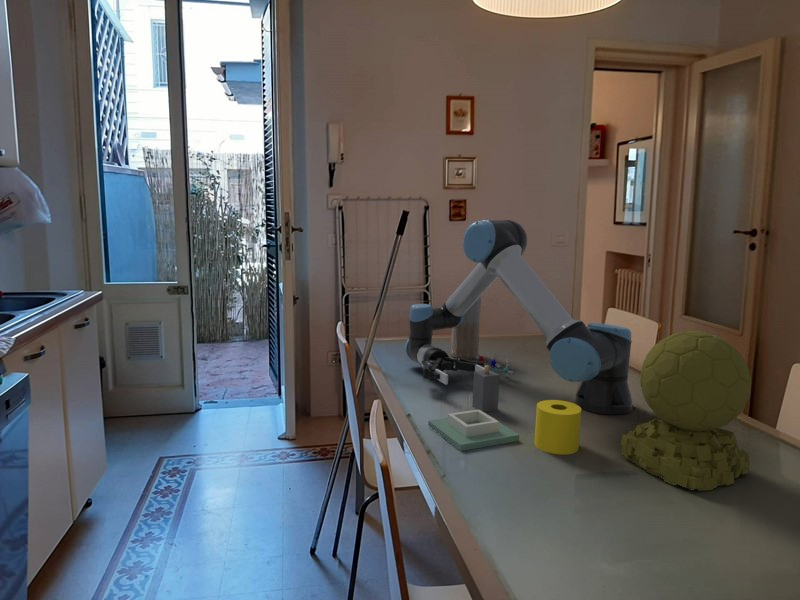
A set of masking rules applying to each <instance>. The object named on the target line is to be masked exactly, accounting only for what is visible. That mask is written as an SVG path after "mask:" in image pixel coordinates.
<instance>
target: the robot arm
mask: <svg viewBox="0 0 800 600" xmlns="http://www.w3.org/2000/svg"><path fill="white" fill-rule="evenodd" d="M462 239H463V243H462V247H463V248H462V249H463V251H464V254H465V256H466V257H467V259H468V260H470V261H471V262H474V263H477V265H476V266H475V267H474V268H473V269H472V270H471V272H470V273H469V274H468V275H467V277H466V278H465V279H464V280H463V281H462V283H460V285H459V286H458V287H457V288H456V289H455V290H454V292H453V293H452V294H451V295H450V296H449V297H448V298H447V300H446V301H445V302H444V303H443V304H442V305H441V306H439V307H434V308H433V306H432V305H431V304H428V303H415V304H412V305H411V306H410V307H409V308H410V309H409V317H408V318H409V330H408V331H409V337H408V339H407V340H406V342H405V344H404V345H403V346H404V347H403V350H404V354H405V356H406V357H407V358H409V359H410V360H411V361H412V362H415V363H417V364H419V365H421V370H422V371H423V372H422V373H423V378H425V379H427V378H428V377H429V380H430V381H435V380H437V381H439V382H440V383H442V384H444V385H445V386H446V385H448V384H449V374H447V373H445V371H447V372H448V371H453V372H457V371H465V372H471V373H474V372H475V371H483V370H485V364H484V363H483V362H482V361H476V360H473V359H463V358H461V357H457V358H452V357H450V356H449V355H448V353H447V351H445V350H443V349H441V348H439V347H437V346H435V345H433V344H432V341H433V332H437V331H440V330H447V329H452V328H454V327H456V326H459V325H460V324H462V322H463V319H464V314H465V313H466V312H467V310H468V309H469V308H470V307H471V306H472V305H473V304H474V303H475V302H476V301H477V300H478V298H479V297H480V296H481V297H482V295H484V293H485V292H486V291H487V290H489V287H490V286H491V285H492V284H493V283H494V282H495V281H496V280H497V279H498V278H499V279H500V280H501V282H502V283H503V285H504V286H505V287H506V288H507V289H508V290H509V292H510V293H511V295H512V296H513V297H514V298H515V300H516V302H517V303H519V305H520V306H521V307H522V309H524V311H525V312H526V314H527V315H528V316H529V317H530V319H531V320H532V322H533V323H534V324H535V325H536V327H537V328H538V329H539V330H540V332H541V333H542V335H543V336H544V337H545V338H546V343H545V344H546V345H545V347H546V349H547V350H548V351H549V359H550V360H549V363H550V365H551V368H552V370H553V371H554V372H555V374H556V375H557V376H558V377H560V378H561V379H563V380H565V381H567V382H572V383H579V385H578V387H577V391H576V394H575V400H574V404H576V405H578V406H579V407H581V410H582V409H583V410H585V411H588V412H591V413H597V414H600V415H601V414H602V415H611V416H612V415H615V416H616V415H624V414H627V413H630V412H631V411H633V399H632V394H631V391H630V386H629V383H628V379H629V371H630V370H629V368H630V359H631V349H632V342H633V341H632V331H631V330H630V329H629V328H627V327H625V326H620V325H614V324H609V323H606V324H605V323H600V322H599V323H598V322H589V323H588V324H587V325H586V324H585V323H584V321H583V320H580V319H573V317H572V316H571V315H570V314H569V313H568V312H567V310H566V309H565V308H564V306H563V305H562V304H561V303H560V302H559V301H558V299H557V298H556V296H555V295H554V294H553V293H552V291H550V289H549V288H548V287H547V286H546V284H545V283H544V282H543V280H542V279H541V278H540V277H539V276H538V274H537V273H536V272H535V271H534V269H533V268H532V267H531V266H530V265H529V263H527V261H526V260H525V258H523V255H524V253H525V252H526V249H527V245H528V235H527V232H526V230H525V229H524V227H523V226H522V225H521V224H519V223H518V222H517V221H514V220H511V219H504V220H503V219H502V220H498V219H497V220H496V219H495V220H490V219H483V220H478V221H474V222H473V223H471V224H470V225H469V226H468V227H467V229H466V230H465V233H464V235H463V238H462Z"/></svg>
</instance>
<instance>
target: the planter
mask: <svg viewBox="0 0 800 600" xmlns="http://www.w3.org/2000/svg"><path fill="white" fill-rule="evenodd" d="M481 304H482V295H481V296H480V297H479V298H478V300H477V301H476V302H475V303H474V304H473V305H472V306H471V307H470V308H469V309H468V310H467V312H466V313H465V314H464V319H463V322H462V324H460V325H459V326H456V327H454V328H451V341H450V347H451V348H450V356H451V358H452V357H453V358H454V359H457V357H461V358H463V359H467V360H474V359H476V356H479V353H480V350H479V349H480V329H481V309H482V307H481V306H482V305H481Z"/></svg>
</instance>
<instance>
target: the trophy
mask: <svg viewBox="0 0 800 600" xmlns="http://www.w3.org/2000/svg"><path fill="white" fill-rule="evenodd" d="M639 384H640V387H641V393H642V395H643V397H644V398H643V399H644V400H645V402H646V404H647V405H648V406H649V408H650V409H651V411H653V413H655V414H656V415H657V417H659V418H660V419H658V418H654V419H652V420H649V421H648V422H642V423H639V424H635V428H634V429H633V430H631V429H630V431H628V432H627V434H624V433H622V437H621V440H620V446H621V447H620V448H621V449H620V455H622V456H623V457H625V459H627V460H628V461H630V462H631V461H632V463H633V464H634V463H635V464H634V465H635V466H636V465H637V467H639V468H641V469H642V468H643V469H642V470H644V471H645V470H646V471H645V472H647V473H649V474H650V473H652V474H651V475H653V474H654V475H653V476H655V475H657V476H659V477H658V478H660V477H662V478H664V479H663V482H664V483H666V482H667V483H666V484H669V485H672V486H674V485H675V486H679V485H680V487H681V486H682V487H681V488H684V487H685V489H686V488H689V489H692V490H693V489H697V490H696V491H698V492H700V491H702V492H703V491H712V490H715V489H717V488H718V487H720V486H729V485H733V484H735V479H737V478H739V477H740V475H746V474H749V473H750V455H749V453H748V452H746V451H745V450H744V449H739V445H738V441H737V437H736V435H735V432H734V431H730V430H727V429H723V428H722V427H725V426H727V425H729V423H731V422H732V421H734V420H736V419H737V418H738V417H739V416H740V415H741V414H742V413H743V411H744V410H745V408H746V406H747V403H748V402H749V399H750V396H751V391H752V390H751V389H752V388H751V387H752V379H751V374H750V368H749V366H748V364H747V362H746V360H745V359H744V357H743V356H742V354H741V353H740V352H739V350H738V349H737V348H736V347H734V345H732V344H731V343H730V342H728V341H726V340H725V339H723V338H722V337H720V336H718V335H715V334H712V333H711V334H710V333H709V332H705V331H700V330H689V331H679V332H676V333H673V334H670V335H668V336H666V337H665V338H662V339H660V340H659V341H658V342H657V343H656V344H654V345H653V346H652V348H651V349H650V350H649V352H648V353H647V354H646V356H645V358H644V360H643V363H642V366H641V369H640V377H639ZM657 476H656V477H657ZM662 478H661V479H662ZM677 484H678V485H677ZM675 486H674V487H675ZM714 488H715V489H714ZM689 489H688V490H689ZM693 491H694V490H693Z"/></svg>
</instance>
